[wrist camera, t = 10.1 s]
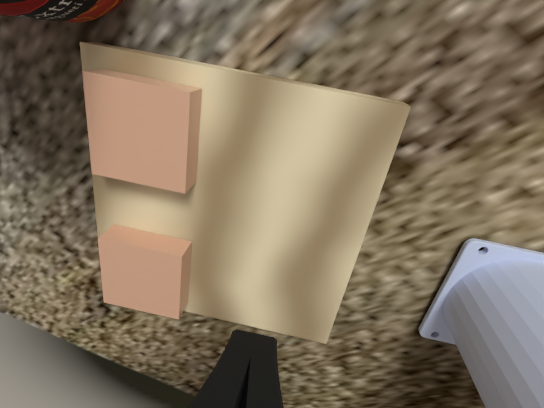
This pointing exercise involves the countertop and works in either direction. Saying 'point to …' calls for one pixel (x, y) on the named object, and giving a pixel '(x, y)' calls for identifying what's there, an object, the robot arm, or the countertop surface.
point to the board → (262, 190)
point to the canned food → (58, 9)
